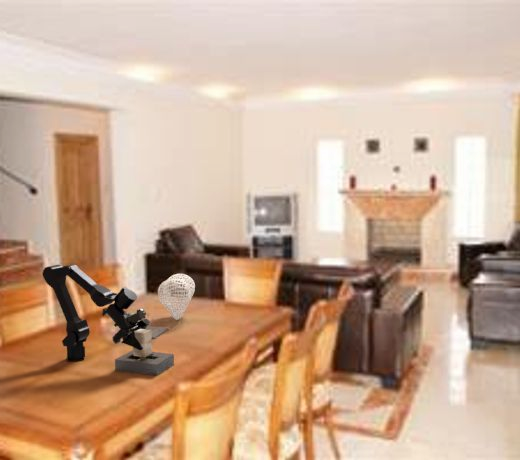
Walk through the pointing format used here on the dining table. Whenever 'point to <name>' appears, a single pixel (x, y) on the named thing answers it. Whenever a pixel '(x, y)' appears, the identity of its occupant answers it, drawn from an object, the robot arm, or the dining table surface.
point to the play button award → (157, 331)
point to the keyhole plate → (145, 363)
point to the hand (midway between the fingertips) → (145, 347)
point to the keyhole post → (143, 343)
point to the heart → (165, 294)
